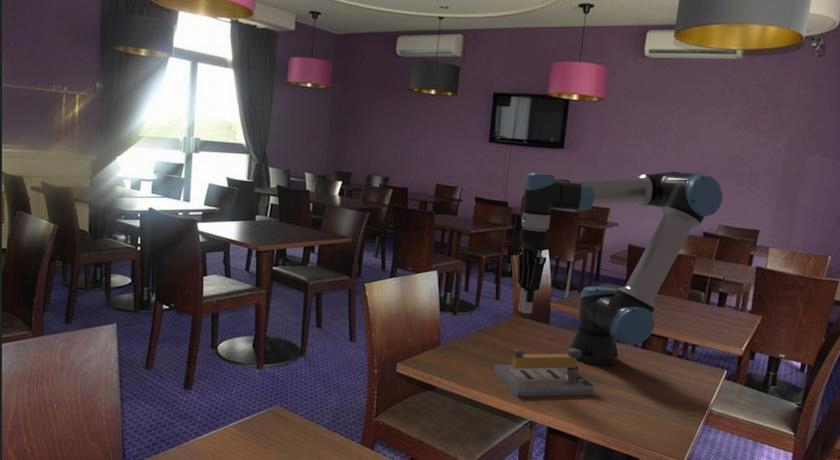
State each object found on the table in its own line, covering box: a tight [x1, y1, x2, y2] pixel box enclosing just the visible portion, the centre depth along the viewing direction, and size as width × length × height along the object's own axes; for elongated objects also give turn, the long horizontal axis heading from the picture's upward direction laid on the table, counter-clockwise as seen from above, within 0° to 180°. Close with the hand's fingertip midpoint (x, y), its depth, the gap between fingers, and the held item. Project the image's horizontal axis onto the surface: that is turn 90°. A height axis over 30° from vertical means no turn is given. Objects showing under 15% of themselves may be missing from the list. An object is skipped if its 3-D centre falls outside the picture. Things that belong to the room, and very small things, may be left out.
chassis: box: [493, 364, 595, 398], centre depth 165 cm, size 22×16×5 cm
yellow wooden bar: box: [511, 348, 582, 368], centre depth 165 cm, size 20×4×5 cm, turn 105°
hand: (525, 311), depth 169 cm, fingers closed
